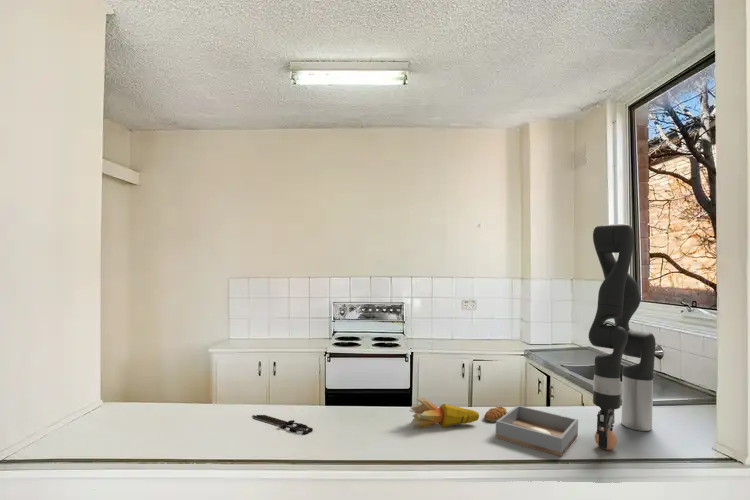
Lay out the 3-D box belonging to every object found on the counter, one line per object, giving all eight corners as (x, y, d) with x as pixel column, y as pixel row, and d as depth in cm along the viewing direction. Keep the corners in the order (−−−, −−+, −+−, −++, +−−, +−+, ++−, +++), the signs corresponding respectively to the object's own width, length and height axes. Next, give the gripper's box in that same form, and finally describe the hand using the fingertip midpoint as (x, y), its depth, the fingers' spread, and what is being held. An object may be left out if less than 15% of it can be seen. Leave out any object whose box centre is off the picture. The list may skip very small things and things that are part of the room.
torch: (476, 436, 148) (407, 430, 143) (469, 417, 155) (403, 411, 150) (485, 419, 145) (414, 413, 140) (477, 401, 152) (409, 394, 147)
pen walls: (517, 416, 154) (517, 405, 155) (577, 431, 142) (578, 419, 142) (495, 433, 139) (495, 421, 139) (561, 452, 126) (561, 438, 126)
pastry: (495, 425, 149) (495, 414, 149) (479, 419, 154) (479, 409, 154) (510, 419, 155) (510, 408, 156) (494, 414, 161) (494, 403, 161)
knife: (248, 418, 150) (249, 414, 150) (263, 413, 155) (263, 409, 155) (300, 438, 135) (300, 433, 135) (315, 431, 140) (315, 427, 140)
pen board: (517, 419, 154) (517, 416, 154) (577, 435, 142) (577, 431, 142) (495, 437, 139) (495, 433, 139) (561, 456, 126) (561, 451, 126)
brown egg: (596, 442, 137) (597, 423, 137) (618, 448, 133) (618, 428, 133) (592, 449, 132) (593, 429, 132) (614, 455, 129) (615, 434, 129)
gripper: (616, 398, 125) (615, 455, 125) (624, 387, 136) (623, 439, 136) (588, 392, 130) (587, 447, 129) (597, 382, 141) (596, 432, 141)
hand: (605, 443), depth 133 cm, fingers open, 8 cm apart
